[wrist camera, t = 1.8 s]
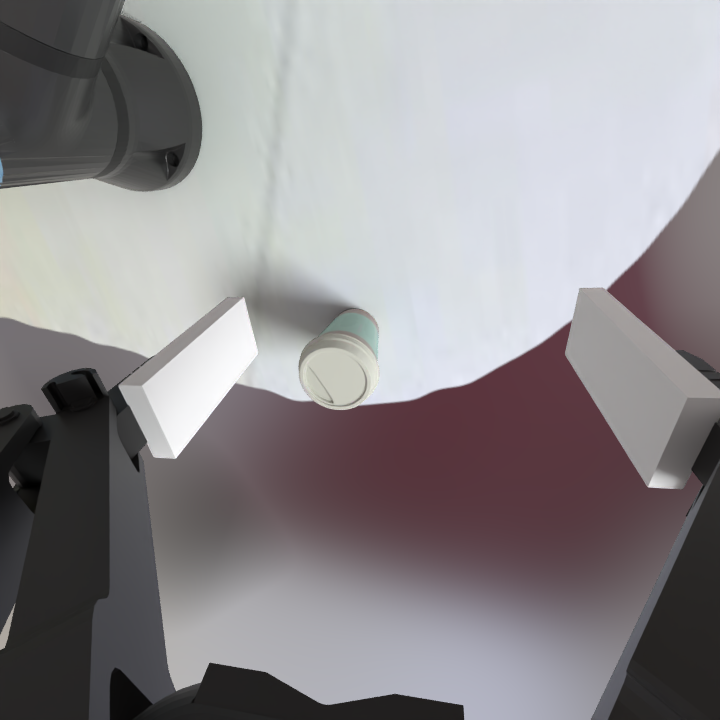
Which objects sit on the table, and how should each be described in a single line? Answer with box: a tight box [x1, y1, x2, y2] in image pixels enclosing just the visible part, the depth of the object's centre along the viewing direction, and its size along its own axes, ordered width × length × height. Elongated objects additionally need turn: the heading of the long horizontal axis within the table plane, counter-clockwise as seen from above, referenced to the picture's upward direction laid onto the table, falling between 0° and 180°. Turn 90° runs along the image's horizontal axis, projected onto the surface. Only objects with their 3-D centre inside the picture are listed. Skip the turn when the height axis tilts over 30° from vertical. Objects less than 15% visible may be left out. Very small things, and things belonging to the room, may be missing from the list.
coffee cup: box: [299, 309, 379, 410], centre depth 42 cm, size 8×8×12 cm
